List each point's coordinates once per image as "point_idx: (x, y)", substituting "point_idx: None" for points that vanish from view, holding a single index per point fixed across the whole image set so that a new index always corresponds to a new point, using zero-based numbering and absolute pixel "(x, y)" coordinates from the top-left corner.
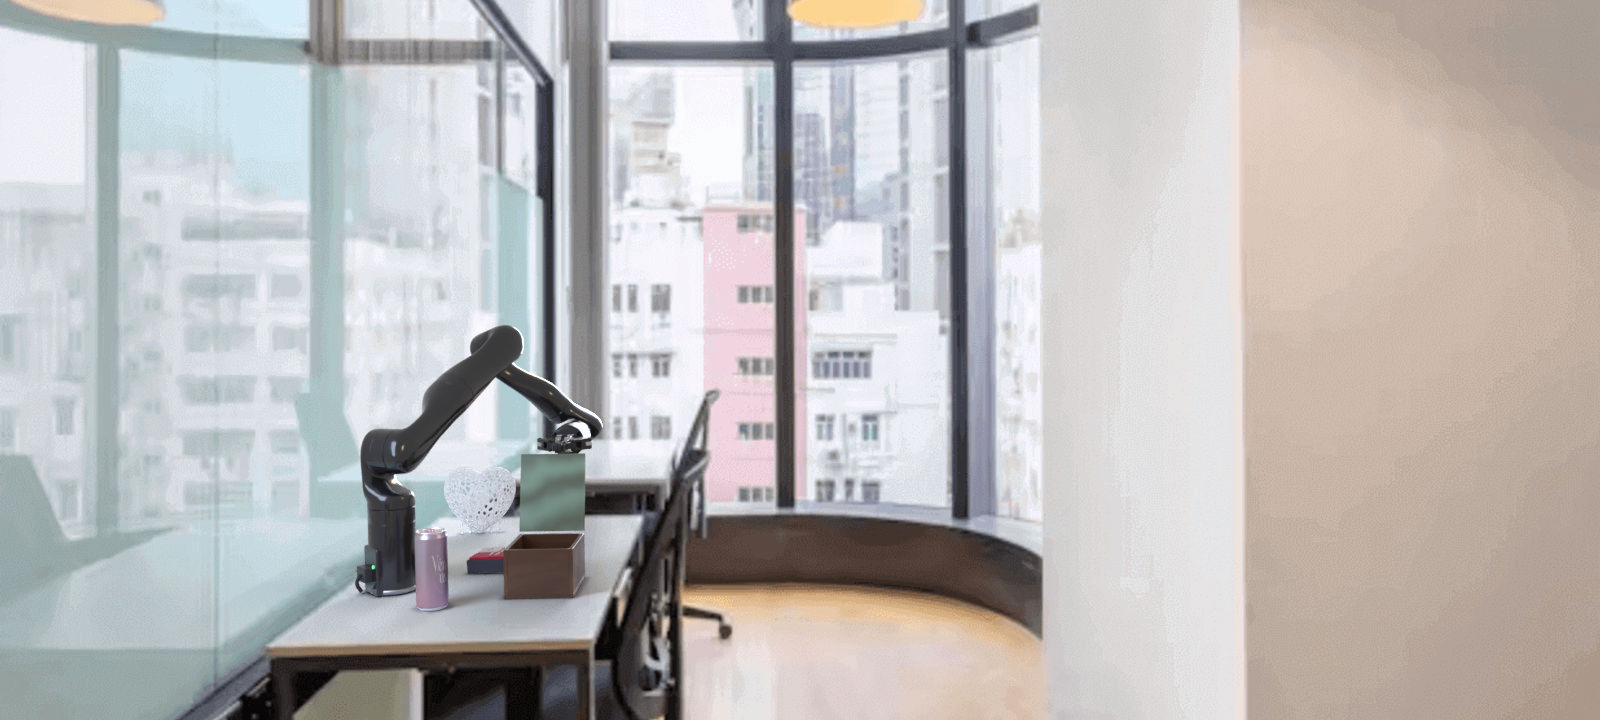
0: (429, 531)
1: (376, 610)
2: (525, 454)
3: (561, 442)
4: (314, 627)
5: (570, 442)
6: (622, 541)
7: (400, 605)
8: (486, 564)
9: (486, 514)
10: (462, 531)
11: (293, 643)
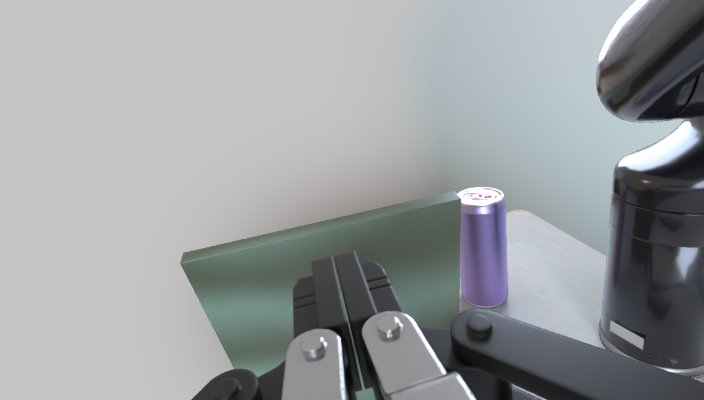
0: (481, 196)
1: (548, 274)
2: (437, 196)
3: (319, 282)
4: (549, 232)
5: (265, 393)
6: None
7: (540, 293)
8: None
9: None
10: None
11: (517, 212)
